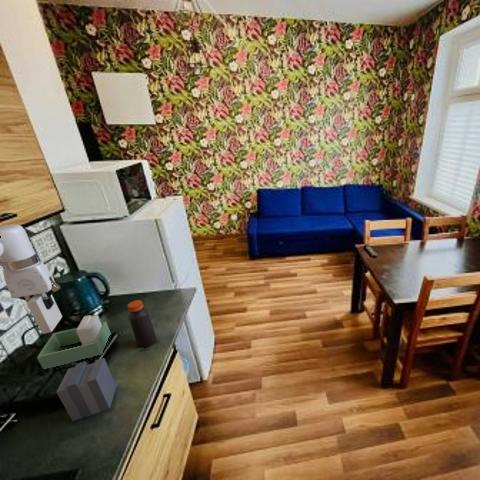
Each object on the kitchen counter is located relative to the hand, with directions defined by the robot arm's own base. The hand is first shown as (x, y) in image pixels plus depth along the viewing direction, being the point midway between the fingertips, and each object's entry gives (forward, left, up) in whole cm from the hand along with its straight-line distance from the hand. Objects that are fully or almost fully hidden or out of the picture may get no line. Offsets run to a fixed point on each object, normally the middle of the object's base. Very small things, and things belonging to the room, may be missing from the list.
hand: (44, 307), depth 94 cm
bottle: (+26, -1, -26) cm, 37 cm away
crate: (+2, +4, -25) cm, 26 cm away
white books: (+8, +4, -25) cm, 26 cm away
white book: (0, 0, -8) cm, 8 cm away
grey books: (+14, -25, -25) cm, 38 cm away
